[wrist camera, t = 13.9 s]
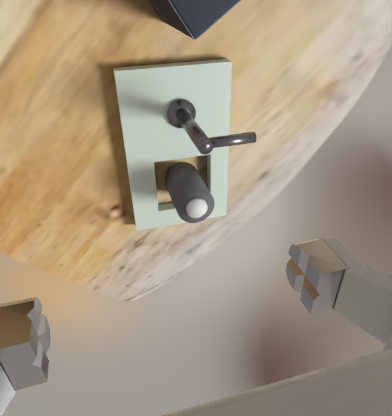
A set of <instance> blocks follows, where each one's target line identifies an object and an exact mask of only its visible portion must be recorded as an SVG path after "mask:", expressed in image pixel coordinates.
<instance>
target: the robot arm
mask: <svg viewBox="0 0 392 416" xmlns="http://www.w3.org/2000/svg"><path fill="white" fill-rule="evenodd" d="M289 255H290V256H291V257H292V258H291V259H290V260H289V262H288V263H287V268H286V272H287V278H288V280H289V283H290V285H291V286H292V288H293V289H294V290H295V291H297V292H299V293H301V298H300V300H301V301H302V303H303V304H304V306H305V307H306V308H307V310H308V311H309V313H310V314H314V313H318V312H323V311H327V310H332V309H334V311H335V312H337V313H338V314H340V315H341V316H343V317H345V318H346V319H348V320H349V321H351V322H352V323H354V324H355V325H357V326H359V327H360V328H362V329H363V330H365V331H366V332H368V333H369V334H371V335H372V336H374V337H376V338H377V339H379V340H380V341H382V342H383V343H385V345H384V348H383V350H382V351H381V352H377V353H374V354H370V355H367V356H364V357H360V358H357V359H353V360H350V361H347V362H343V363H340V364H337V365H333V366H330V367H326V368H323V369H320V370H316V371H313V372H309V373H306V374H302V375H299V376H296V377H292V378H289V379H285V380H282V381H279V382H275V383H272V384H269V385H265V386H262V387H258V388H255V389H252V390H248V391H245V392H241V393H238V394H235V395H231V396H228V397H224V398H221V399H218V400H214V401H211V402H207V403H204V404H201V405H198V406H194V407H190V408H187V409H184V410H180V411H177V412H174V413H170V414H167V415H163V416H392V275H391V274H389V273H386V272H384V271H382V270H379V269H376V268H374V267H372V266H369V265H362V264H361V263H360V262H359V261H358V260H357V259H356V258H355V256H354V255H353V254H351V252H350V251H349V250H348V249H347V248H346V247H345V246H344V245H343V244H342V243H341V242H340V241H339V240H338V239H337V238H336V237H334V236H328V237H323V238H319V239H314V240H309V241H305V242H301V243H296V244H292V245H291V246H290V249H289ZM41 309H42V305H41V303H40V300H39V299H38V298H37V297H36V298H30V299H25V300H19V301H14V302H8V303H3V304H0V416H1V415H2V413H3V412H4V410H5V408H6V407H7V405H8V404H9V402H10V401H11V399H12V397H13V395H14V394H15V391H16V390H19V389H23V388H26V387H30V386H33V385H37V384H41V383H44V382H47V377H48V365H49V360H48V358H47V355H46V352H47V350H48V349H49V348H50V329H49V324H48V321H47V318H46V316H45V315H43V314H41Z"/></svg>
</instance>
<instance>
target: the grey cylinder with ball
mask: <svg viewBox="0 0 392 416" xmlns="http://www.w3.org/2000/svg"><path fill="white" fill-rule="evenodd" d="M165 184H166V187H167V189H168V191H169V194H170V196H171V199H172V201H173V203H174V206H175V208H176V211H177V213H178V215H179V217H180V218H181V219H182V220H184V221H186V222H189V223H196V222H200V221H202V220H204V219H206V218H207V217H208V216H209V215H210V214H211V213H212V211H213V209H214V205H215V202H214V198H213V196H212V195H211V193H210V191H209V190H208V188H207V186H206V185H205V183H204V181H203V180H202V178H201V176H200V175H199V173H198V171H197V170H196V168H195V167H194V166H193V165H191V164H190V163H186V162H180V163H177V164H174V165H173V166H171V167H170V168H169V169H168V170H167V172H166V174H165Z"/></svg>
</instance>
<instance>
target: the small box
mask: <svg viewBox="0 0 392 416" xmlns="http://www.w3.org/2000/svg"><path fill="white" fill-rule="evenodd" d="M149 1H150V2H151V3H152V5H153V7H154V9H155V10H156V12H157V13H158V15H159V16H160V17H161V18H162V19H163V21H164V22H165V23H167V24H169V25H170V26H172V27H174V28H176V29H177V30H179V31H181V32H182V33H184V34H186V35H188V36H190V37H191V38H192V39H194V40H195V39H197V38H198V37H199V36H200V35H202V34H203V33H204V32H205V31H206V30H207V29H209V28H210V27H211V26H212V25H213V24H214V23H215V22H216V21H218V20H219V19H220V18H221V17H222V16H223V15H224V14H226V13H227V12H228V11H229V10H230V9H231V8H233V7H234V6H235V5H236V4H237V3H238V2H239V1H241V0H149Z"/></svg>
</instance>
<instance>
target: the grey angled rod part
mask: <svg viewBox="0 0 392 416" xmlns="http://www.w3.org/2000/svg"><path fill="white" fill-rule="evenodd" d="M195 116H196V110H195V107H194V106H193V104H192V103H191V102H190V101H188V100H186V99H178V100H175V101H173V102H172V103H171V104H170V105H169V107H168V110H167V118H168V121H169V122H170V124H171V125H172V126H174V127H176V128H184V130H185V131H186V133H187V134H188V136H189V137H190V139H191V140H192V142H193V143H194V145H195V146H196V147H197V149H198V150H199V152H200V153H201V154H204V155H206V154H209V153H210V152H211V151H212V150H213V148H218V147H225V146H233V145H240V144H248V143H255V142H256V134H255V132H249V133H241V134H233V135H225V136H217V137H210V138H208V137H207V135H206V134H205V133H204V132H203V130H202V129H201V128H200V127H199V125H198V124H197V123H196V121H195V120H194V119H195Z"/></svg>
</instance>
